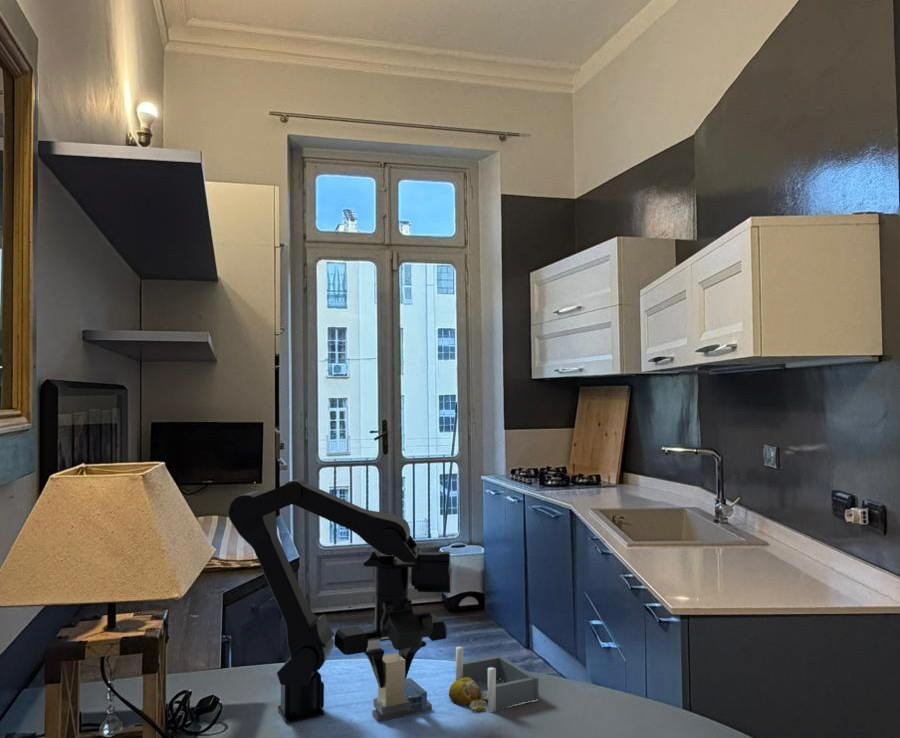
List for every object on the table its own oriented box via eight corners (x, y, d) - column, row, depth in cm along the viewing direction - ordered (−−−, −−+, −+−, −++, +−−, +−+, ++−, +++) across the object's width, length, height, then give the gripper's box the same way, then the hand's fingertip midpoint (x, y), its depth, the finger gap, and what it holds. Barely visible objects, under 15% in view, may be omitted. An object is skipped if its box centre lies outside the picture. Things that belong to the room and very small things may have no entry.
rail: (377, 721, 117) (377, 715, 117) (372, 716, 119) (372, 710, 119) (431, 710, 121) (431, 704, 121) (426, 704, 123) (426, 699, 123)
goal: (490, 712, 120) (490, 670, 120) (454, 685, 132) (454, 647, 132) (539, 701, 125) (538, 661, 125) (500, 676, 136) (500, 639, 137)
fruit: (482, 715, 120) (482, 693, 120) (439, 706, 123) (439, 684, 123) (501, 697, 127) (501, 677, 127) (460, 689, 131) (460, 669, 131)
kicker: (385, 718, 115) (385, 667, 115) (370, 702, 121) (370, 654, 122) (426, 709, 118) (426, 660, 119) (410, 694, 124) (410, 647, 125)
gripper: (355, 611, 109) (355, 714, 108) (462, 596, 117) (462, 692, 116) (333, 594, 119) (333, 688, 118) (433, 581, 127) (433, 669, 126)
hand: (391, 685), depth 119 cm, fingers closed on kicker, 3 cm apart
